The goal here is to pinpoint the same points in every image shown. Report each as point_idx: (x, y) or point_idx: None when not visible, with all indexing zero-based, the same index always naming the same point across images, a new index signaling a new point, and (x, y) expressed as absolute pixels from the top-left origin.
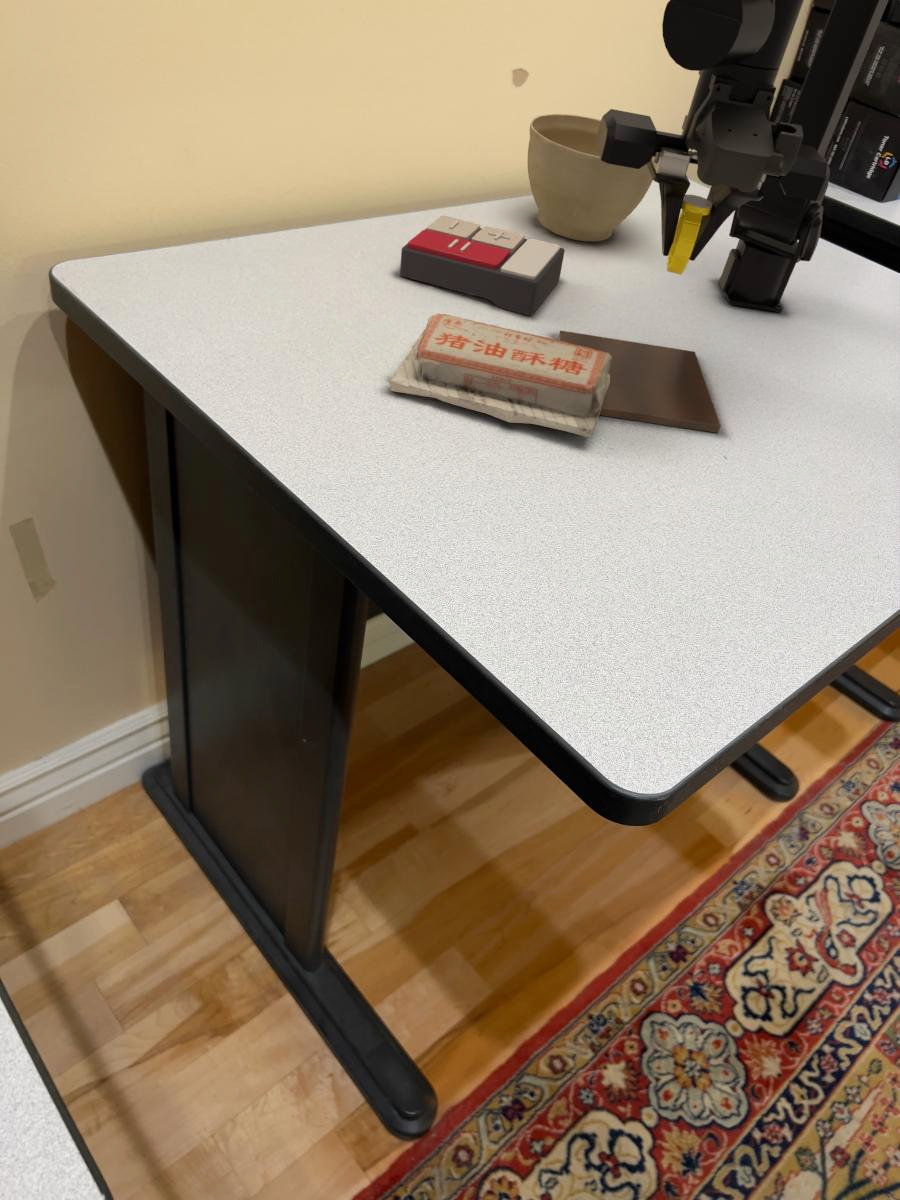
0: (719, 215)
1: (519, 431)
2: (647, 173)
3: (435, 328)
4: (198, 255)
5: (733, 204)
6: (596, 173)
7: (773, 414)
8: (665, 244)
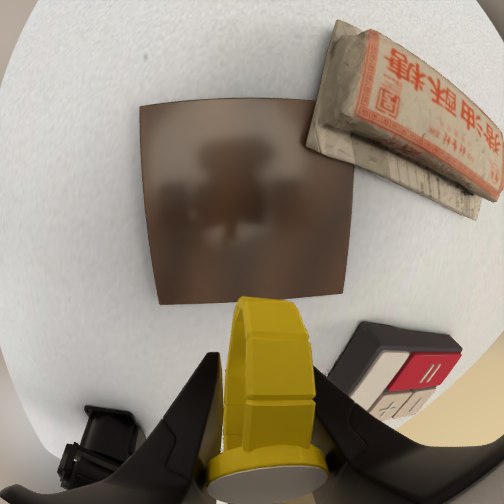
0: (170, 455)
1: None
2: None
3: (502, 161)
4: None
5: (122, 491)
6: (292, 500)
7: (67, 192)
8: None
